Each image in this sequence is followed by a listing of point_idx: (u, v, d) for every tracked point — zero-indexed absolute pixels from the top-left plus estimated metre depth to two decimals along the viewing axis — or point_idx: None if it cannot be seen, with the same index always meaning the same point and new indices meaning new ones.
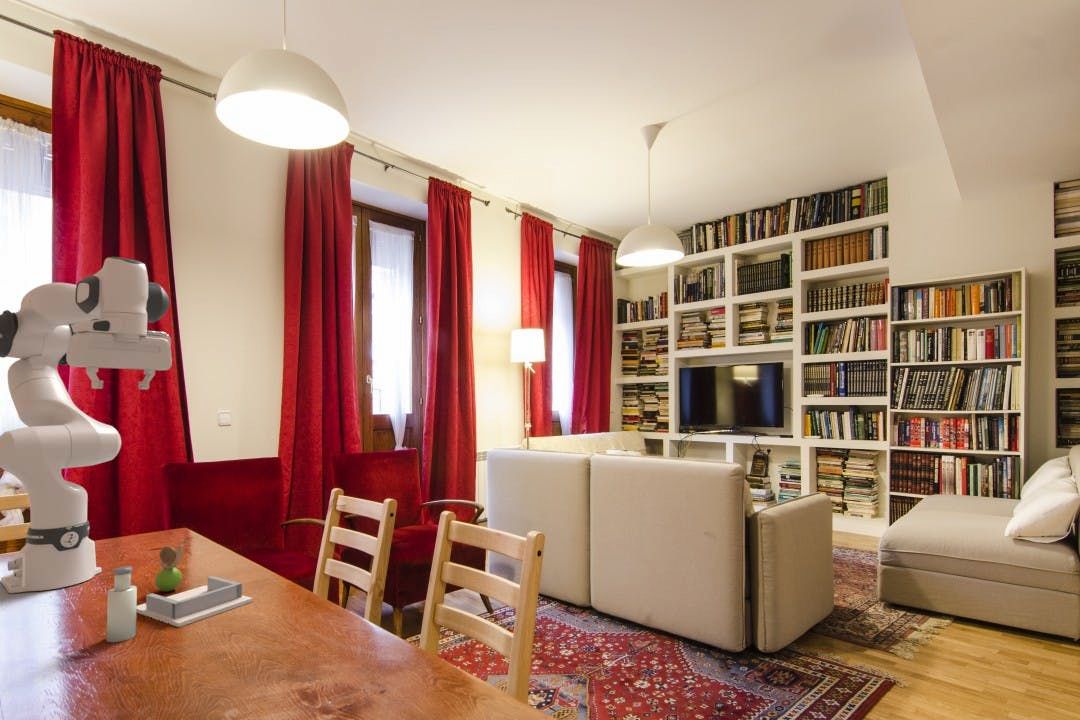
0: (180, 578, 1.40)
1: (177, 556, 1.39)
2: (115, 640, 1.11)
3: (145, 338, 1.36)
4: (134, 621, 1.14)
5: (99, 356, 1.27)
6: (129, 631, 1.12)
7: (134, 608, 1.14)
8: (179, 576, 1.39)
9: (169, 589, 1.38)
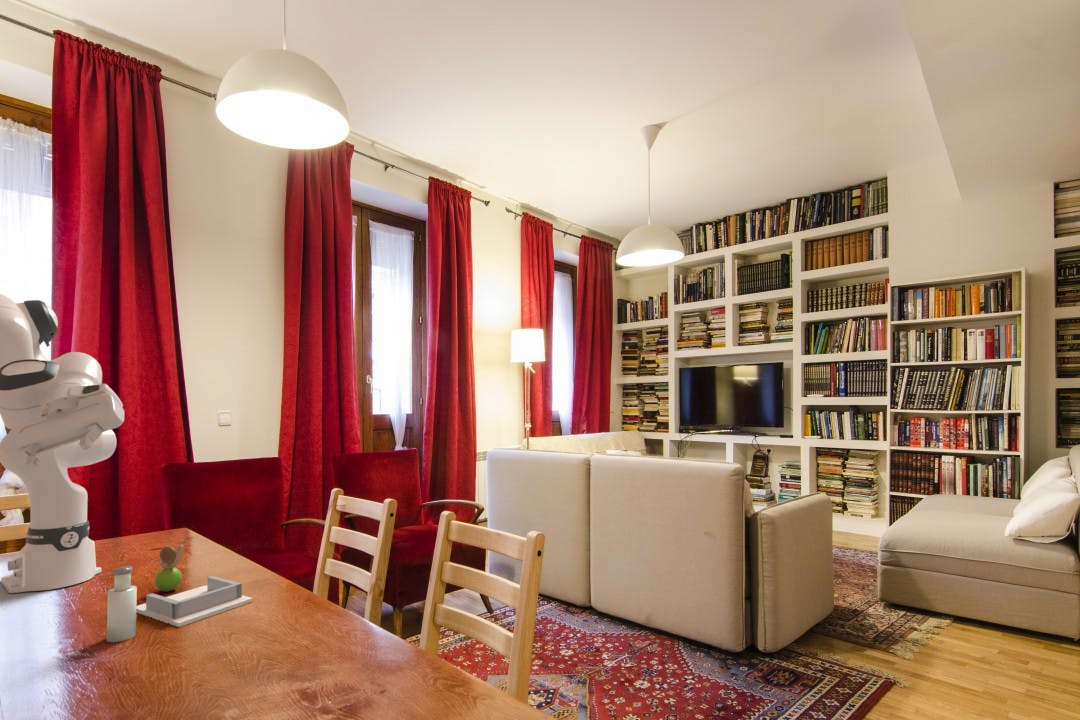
0: (180, 578, 1.40)
1: (177, 556, 1.39)
2: (115, 640, 1.11)
3: None
4: (134, 621, 1.14)
5: None
6: (129, 631, 1.12)
7: (134, 608, 1.14)
8: (179, 576, 1.39)
9: (169, 589, 1.38)
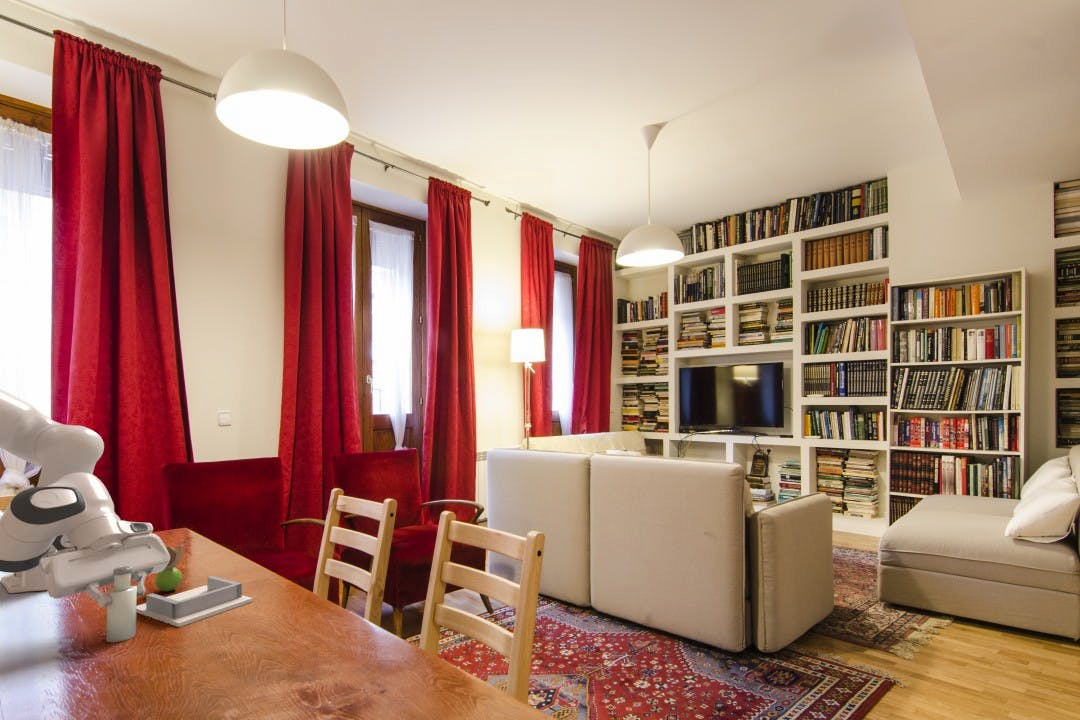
0: (180, 578, 1.40)
1: (177, 556, 1.39)
2: (115, 640, 1.11)
3: None
4: (134, 621, 1.14)
5: None
6: (129, 631, 1.12)
7: (134, 608, 1.14)
8: (179, 576, 1.39)
9: (169, 589, 1.38)
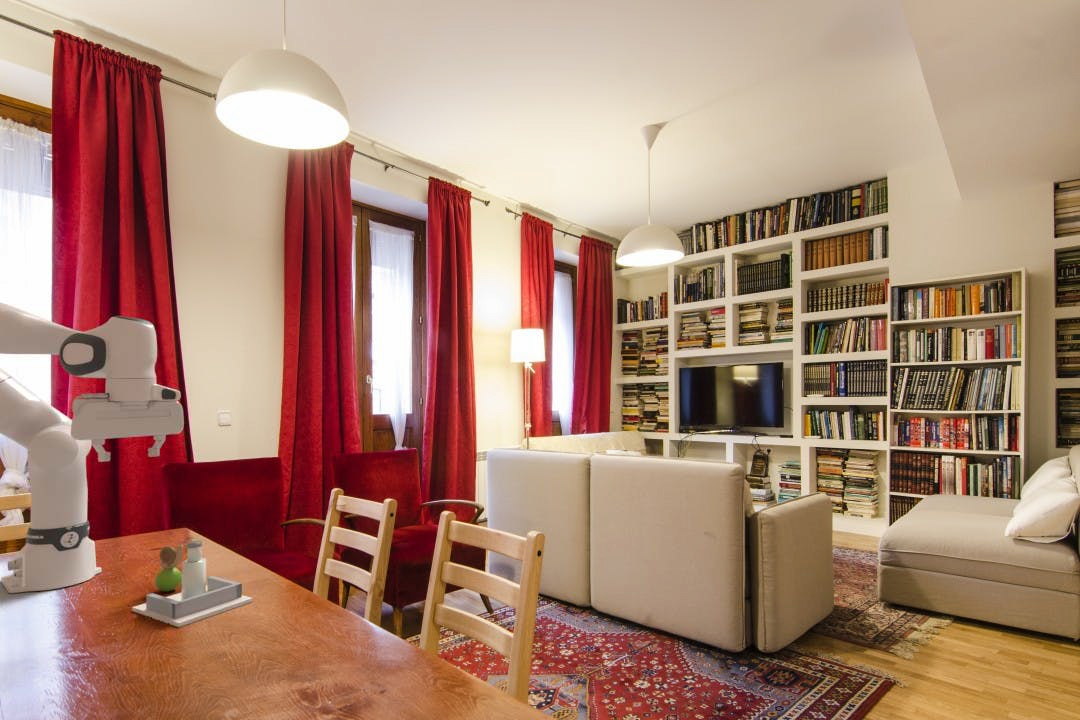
0: (180, 578, 1.40)
1: (177, 556, 1.39)
2: None
3: None
4: (204, 588, 1.30)
5: None
6: None
7: (204, 577, 1.30)
8: (179, 576, 1.39)
9: (169, 589, 1.38)
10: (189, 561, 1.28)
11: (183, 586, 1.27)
